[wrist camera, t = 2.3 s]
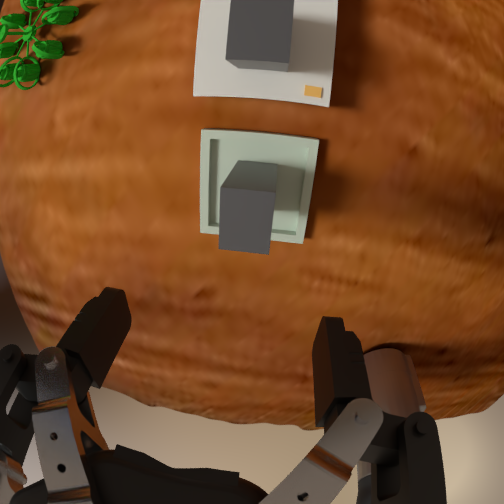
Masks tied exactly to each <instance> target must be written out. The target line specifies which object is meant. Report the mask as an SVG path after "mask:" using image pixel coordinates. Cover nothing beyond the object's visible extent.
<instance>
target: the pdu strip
mask: <svg viewBox="0 0 504 504" xmlns="http://www.w3.org/2000/svg"><path fill="white" fill-rule="evenodd" d="M337 8H338V0H201V5H200V14H199V23H198V33H197V44H196V57H195V71H194V87H193V96H223V97H246V98H260V99H272V100H282V101H290V102H298V103H306V104H313V105H319V106H325V107H329V103H330V94H331V84H332V75H333V64H334V53H335V40H336V25H337Z"/></svg>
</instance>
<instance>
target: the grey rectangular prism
mask: <svg viewBox="0 0 504 504" xmlns="http://www.w3.org/2000/svg"><path fill="white" fill-rule="evenodd" d="M277 165H278V164H273V163H263V162H253V161H241V160H238V161H237V163H236V164H235V166H234V167H233V169H232V170H231V172H230V173H229V175H228V176H227V178H226V179H225V181H224V182H223V184H222V185H221V187H220V211H219V249H224V250H233V251H242V252H250V253H259V254H268V255H269V248H270V240H271V232H272V223H273V215H274V206H275V197H276V184H277Z"/></svg>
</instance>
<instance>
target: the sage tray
mask: <svg viewBox="0 0 504 504" xmlns="http://www.w3.org/2000/svg"><path fill="white" fill-rule="evenodd" d="M318 145H319V139H318V138H312V137H305V136H298V135H290V134H281V133H272V132H261V131H249V130H235V129H215V128H204V129H202V130H201V155H200V233H210V234H219V211H220V187H221V185H222V184H223V182H224V181H225V179H226V178H227V176H228V175H229V173H230V172H231V170H232V169H233V167H234V166H235V164H236V163H237V161H238V160H241V161H253V162H263V163H273V164H278V165H277V184H276V197H275V206H274V215H273V223H272V232H271V240H274V241H283V242H291V243H300V244H303V240H304V234H305V229H306V223H307V217H308V211H309V205H310V199H311V193H312V186H313V180H314V173H315V167H316V160H317V153H318Z"/></svg>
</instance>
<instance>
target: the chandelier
mask: <svg viewBox="0 0 504 504" xmlns="http://www.w3.org/2000/svg"><path fill="white" fill-rule="evenodd" d="M44 1H45V2H47V3H52V4H54V5H53V6H51V7H48V8H41V7H42V6H43V4H44V3H43V2H44ZM62 1H63V0H20V3H21V6H22V8H23V9H24V10H25V11H27V12H30V19H29V27H27V28H26V29H24V28H23V27H24V26H25V25H26V23H27V22H26V21H24V20H25V18H26V17H25V15H24V14H14V13H13V14H9V15H6V16H3V17H2V18H1V20H0V22H1V23H2V25H1V26H0V43H1V42H3V41H4V39H5V38H6V36H7V35H23V37H21V38H20V39H18V40H17V41H16V42H7V43H2V44H0V58H9V57H11V56H13V54H14V53H15V50H17V49H18V48H19V44H18V43H17V42H18V41H20V40H21V39H23V40H24V42H23V44H22V46H21V48H20V50H19V52H18V54H17V56H14V57H11V58H10V59H8V60H7V61H5V62H4V63H3V64H2V66H1V67H0V79H1V80H11V81H10V82H8V83H6V84H3V85H2V84H0V87H7V86H9V85H11V84H12V83H13V82H14V81H15V84H16V85H17V87H18V88H20V89H22V90H28V89H30V88H32V87H34V86H35V85H36V84H37V82H38V80H39V74H40V66H39V63H38V61H37V60H36V59H35V58H34V57H31V56H29V42H30V41H31V40H32V39H34V40H36V42H35V43H34V44H33V46H32V49H33V51H34V52H35V53H36V56H37V57H40V58H42V59H59V58H62V56H63V55H64V51H63V50H61V49H62V47H63V45H62V43H61V42H60V41H55V40H47V41H39V40H38V39H37V38H36V37H34V36H35V34H36V30H37V29H39V28H40V27H42V26H44V25H45V24H58V25H66V24H68V23H69V22H71V21H72V19H73V17H75V16H77V15H78V13H79V8H78V7H76V6H59V7H56V6H58V5H59V4H60V3H61V2H62ZM27 6H33V7H38V9H36V10H32V9H29V8H28V7H27ZM39 9H41V10H42V11H41V12H40V14H39V16H38V17H37V19H36V21H35V22H34V24H33V25H32V26H31V17H32V12H36V11H37V10H39ZM50 9H51V10H50ZM46 10H50V11H48V12H46V13H45V14H44V15H43V16H42V23H43V24H42V25H40V26H39V27H37V28H36V26H35V24H36V22H37V20H38V19H39V17H40V15H41V14H42V12H43V11H46ZM74 11H76V13H74ZM70 16H71V17H70ZM45 17H47V20H45V19H44V18H45ZM24 22H25V23H24ZM18 28H21V29H22V30H23V31H24V32H8V29H18ZM25 41H26V42H27V57H24V58H23V59H22V58H21V57H19V56H18V55H19V53H20V51H21V49H22V47H23V45H24V43H25ZM36 45H38V46H36ZM61 51H62V52H61ZM14 59H20V61H19V62H18V63H13V64H7V63H9V62H10V61H12V60H14ZM24 59H30V60H32V61H33V62H34V63H35V64H25V65H24V61H23V60H24ZM20 62H21V64H20ZM6 64H7V65H6ZM36 71H37V72H36ZM35 79H36V80H35ZM33 80H35V82H34V84H33V85H32V86H31V87H24V86H22V85H21V84H20V83H19V81H21V82H27V81H33Z"/></svg>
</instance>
